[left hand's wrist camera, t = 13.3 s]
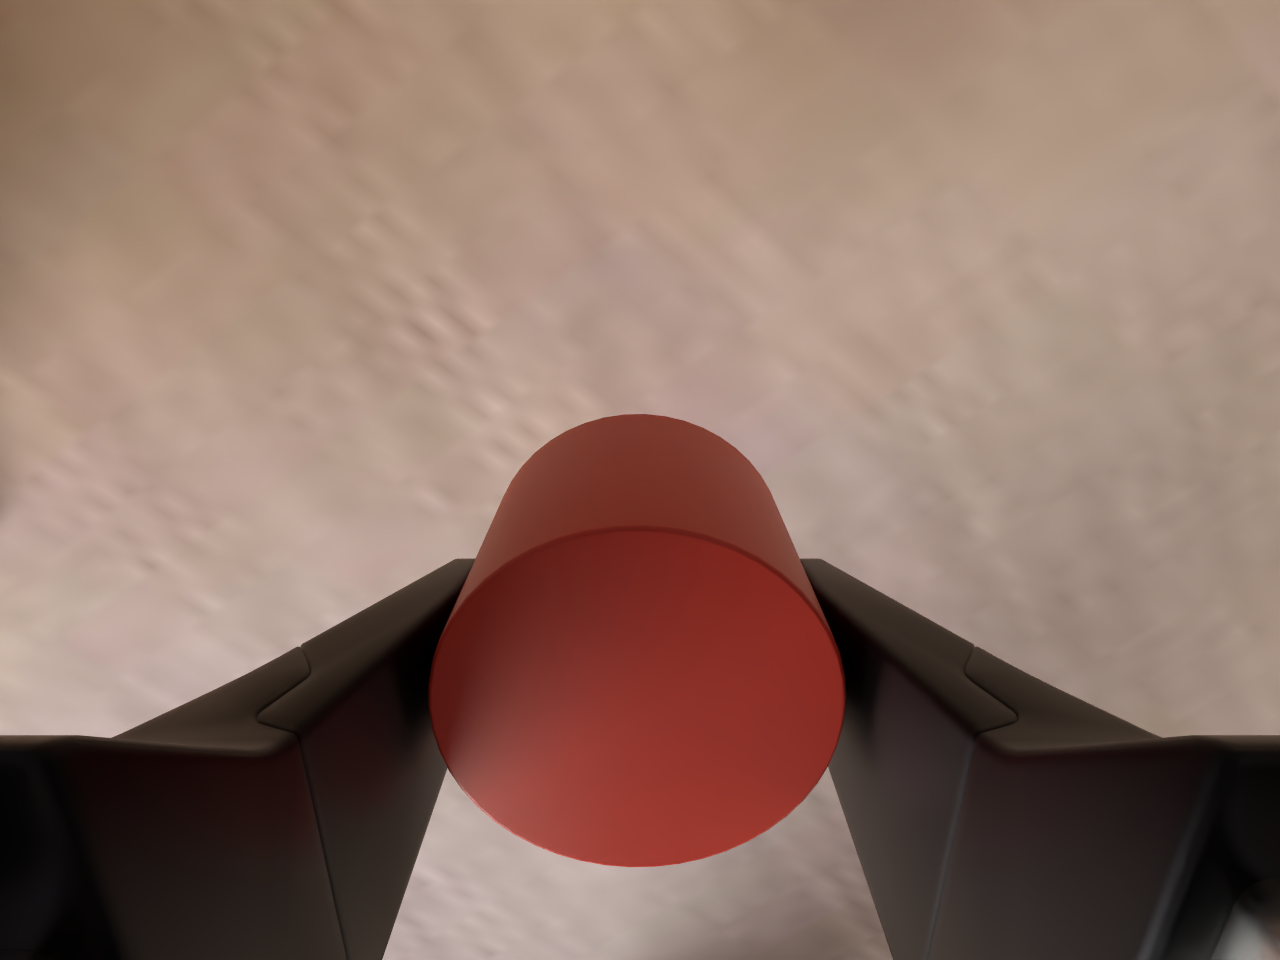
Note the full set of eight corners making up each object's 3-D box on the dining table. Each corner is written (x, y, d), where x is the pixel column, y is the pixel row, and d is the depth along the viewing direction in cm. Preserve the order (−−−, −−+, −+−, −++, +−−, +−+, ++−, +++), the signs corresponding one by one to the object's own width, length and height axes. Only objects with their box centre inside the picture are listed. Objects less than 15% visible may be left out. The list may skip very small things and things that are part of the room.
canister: (538, 691, 13) (497, 895, 9) (457, 448, 12) (364, 577, 8) (800, 642, 13) (868, 834, 9) (757, 383, 11) (818, 484, 7)
